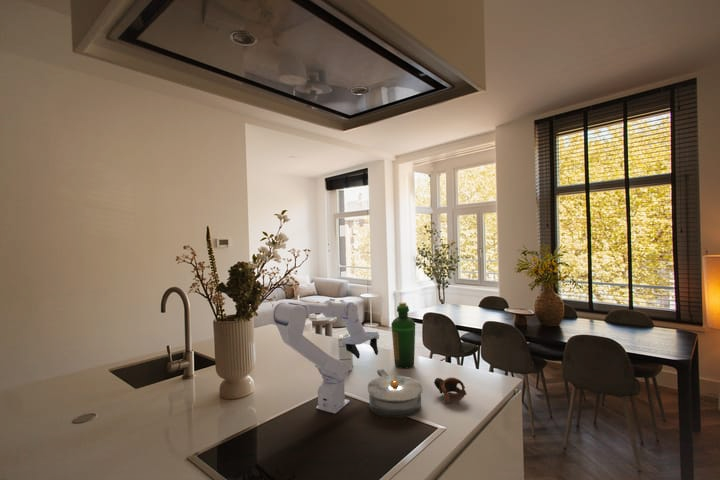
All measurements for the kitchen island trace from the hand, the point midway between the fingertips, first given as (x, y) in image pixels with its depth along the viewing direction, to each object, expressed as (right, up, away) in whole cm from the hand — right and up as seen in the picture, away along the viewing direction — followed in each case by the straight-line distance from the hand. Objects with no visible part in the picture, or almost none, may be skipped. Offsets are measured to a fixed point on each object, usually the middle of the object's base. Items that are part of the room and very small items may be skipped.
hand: (367, 354), depth 133 cm
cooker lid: (+8, -7, -13) cm, 16 cm away
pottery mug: (+29, -12, -12) cm, 33 cm away
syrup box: (-9, -13, +19) cm, 25 cm away
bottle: (+17, -12, +20) cm, 29 cm away
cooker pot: (+10, -12, -13) cm, 20 cm away
